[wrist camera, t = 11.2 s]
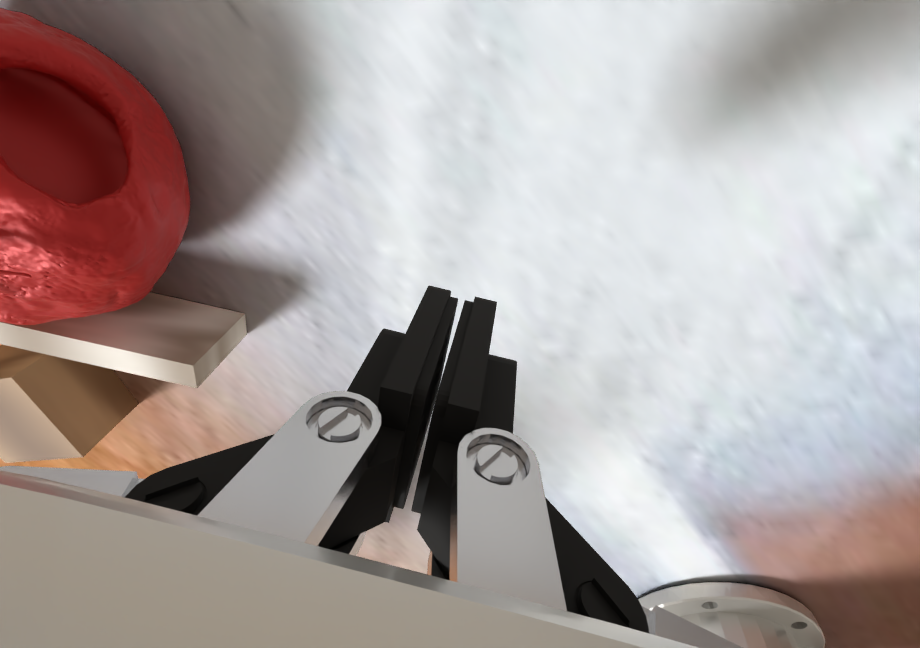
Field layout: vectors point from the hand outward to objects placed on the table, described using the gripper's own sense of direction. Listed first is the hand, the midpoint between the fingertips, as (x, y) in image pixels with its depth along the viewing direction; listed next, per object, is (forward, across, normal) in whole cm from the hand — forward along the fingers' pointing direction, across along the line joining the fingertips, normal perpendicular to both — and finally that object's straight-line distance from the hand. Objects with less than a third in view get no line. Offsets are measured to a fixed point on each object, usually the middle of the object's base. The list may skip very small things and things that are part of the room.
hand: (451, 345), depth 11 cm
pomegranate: (+8, +15, 0) cm, 17 cm away
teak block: (+8, +20, +13) cm, 25 cm away
